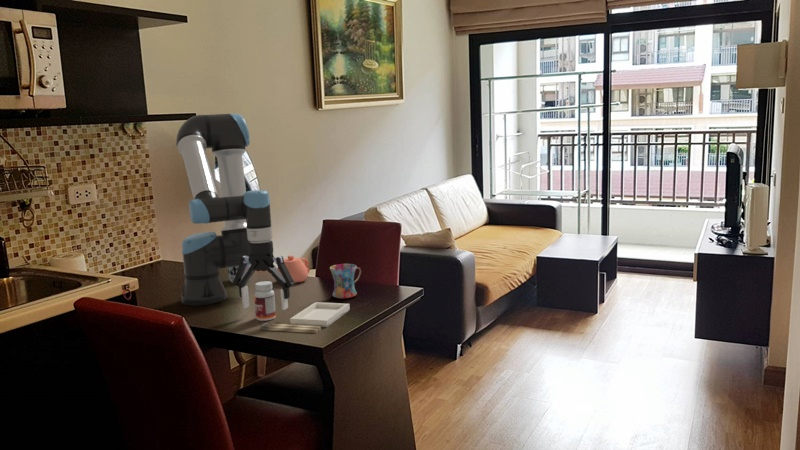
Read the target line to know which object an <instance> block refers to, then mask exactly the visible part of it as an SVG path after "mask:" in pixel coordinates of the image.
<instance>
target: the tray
mask: <svg viewBox="0 0 800 450" xmlns="http://www.w3.org/2000/svg"><path fill="white" fill-rule="evenodd" d="M350 305H351V304H350V303H342V302H341V303H340V302H339V303H338V302H322V301H321V302H318V301H317V302H316V301H315V302H313V303H312V304H310V305H309V306H307V307H305V308H304V309H303V310H301V311H299V312H297V313H296V314H295V315H293V316H292V317H290V318H289V320H290V325H304V326H321V328H329V326H331V325H332V324H333V323H334V322H336V321H337V320H339V319H340V318H341V317H343V316H344V315H345V314H347V313H348V312H349V311H351V308H350Z"/></svg>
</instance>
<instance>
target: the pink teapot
mask: <svg viewBox="0 0 800 450" xmlns="http://www.w3.org/2000/svg"><path fill="white" fill-rule="evenodd" d="M283 259H284V263H285V265H286V267H287V269H288V271H289V273H290V275H291V277H292V279H293V280H294V282H295V284H296V283H303V282H304V281H305V280H306V279H307V278H308V277H309V273H310V268H308V266H309V261H308V259H307V258H304V257H302V258H299V257H295V255H287V258H283ZM303 261H304V262H303ZM276 268H277V270H278V271H279V273H280V274H281V272H280V270H279V268H278V267H276ZM281 275H282V274H281Z"/></svg>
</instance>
